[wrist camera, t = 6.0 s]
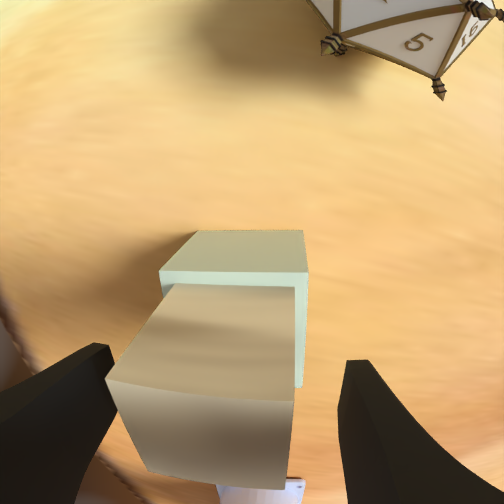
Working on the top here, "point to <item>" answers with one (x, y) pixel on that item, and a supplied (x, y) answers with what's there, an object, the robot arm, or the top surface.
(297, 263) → the base block
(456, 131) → the top surface
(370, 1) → the game die
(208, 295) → the birch block
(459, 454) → the top surface
